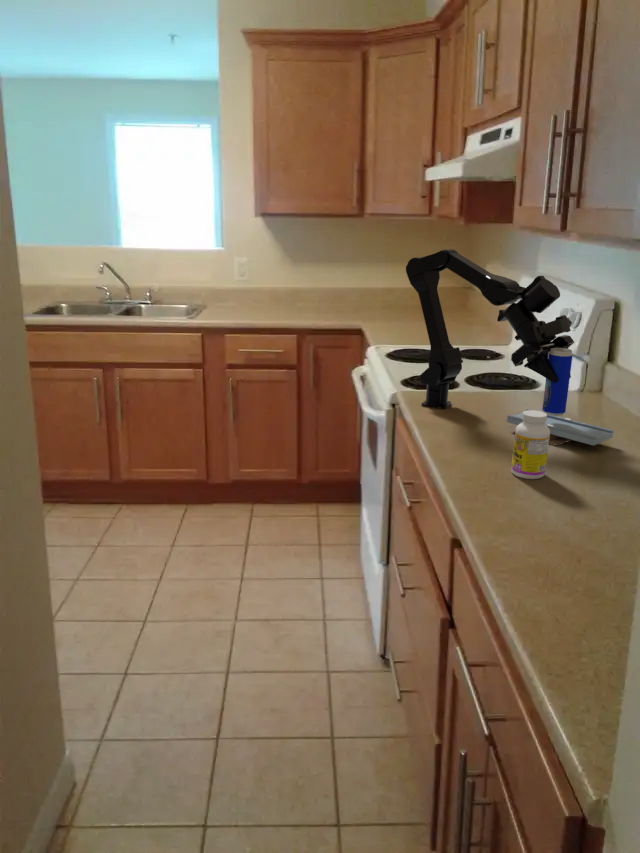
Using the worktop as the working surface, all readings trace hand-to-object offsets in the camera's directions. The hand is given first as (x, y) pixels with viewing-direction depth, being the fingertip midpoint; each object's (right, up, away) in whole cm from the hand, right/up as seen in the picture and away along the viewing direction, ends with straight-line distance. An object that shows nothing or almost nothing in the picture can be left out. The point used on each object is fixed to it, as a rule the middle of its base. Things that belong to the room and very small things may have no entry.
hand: (563, 380), depth 171 cm
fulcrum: (0, -13, +4) cm, 14 cm away
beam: (0, -11, +3) cm, 12 cm away
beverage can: (-1, -8, +3) cm, 8 cm away
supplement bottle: (-14, -20, -20) cm, 31 cm away
